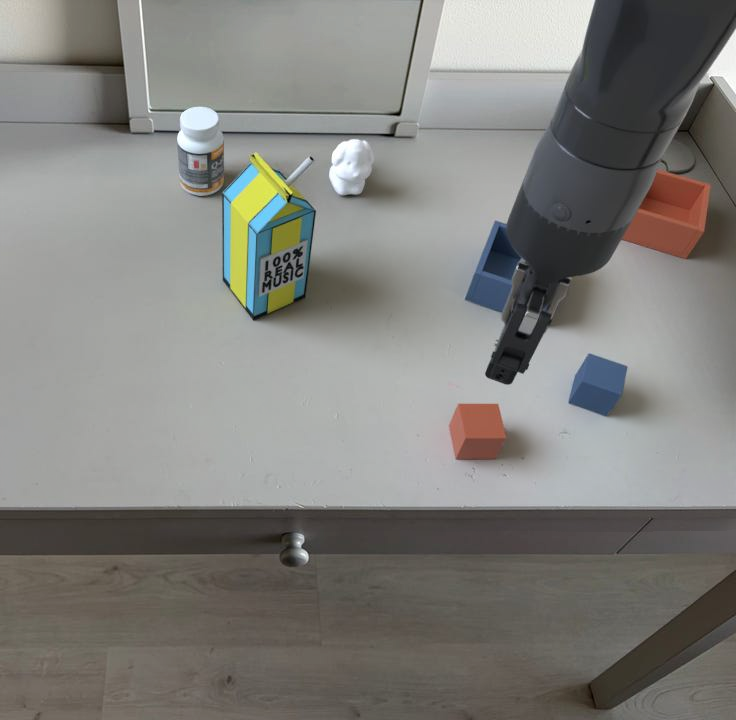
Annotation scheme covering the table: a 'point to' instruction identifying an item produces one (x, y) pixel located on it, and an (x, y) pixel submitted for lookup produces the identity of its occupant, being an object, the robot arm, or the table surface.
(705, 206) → the terracotta bin
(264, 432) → the table surface
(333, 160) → the figurine
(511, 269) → the slate bin
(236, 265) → the carton
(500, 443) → the terracotta block
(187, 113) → the pill bottle
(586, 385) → the slate-blue block
